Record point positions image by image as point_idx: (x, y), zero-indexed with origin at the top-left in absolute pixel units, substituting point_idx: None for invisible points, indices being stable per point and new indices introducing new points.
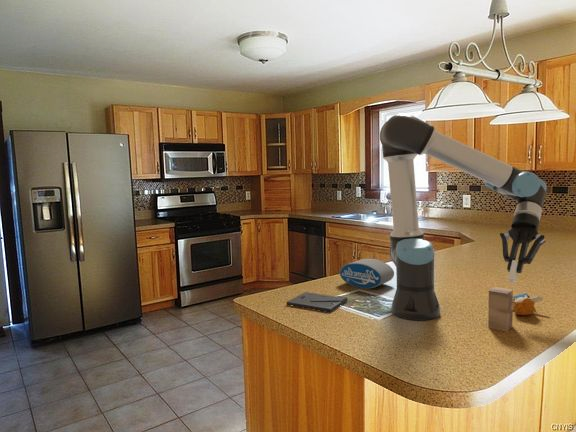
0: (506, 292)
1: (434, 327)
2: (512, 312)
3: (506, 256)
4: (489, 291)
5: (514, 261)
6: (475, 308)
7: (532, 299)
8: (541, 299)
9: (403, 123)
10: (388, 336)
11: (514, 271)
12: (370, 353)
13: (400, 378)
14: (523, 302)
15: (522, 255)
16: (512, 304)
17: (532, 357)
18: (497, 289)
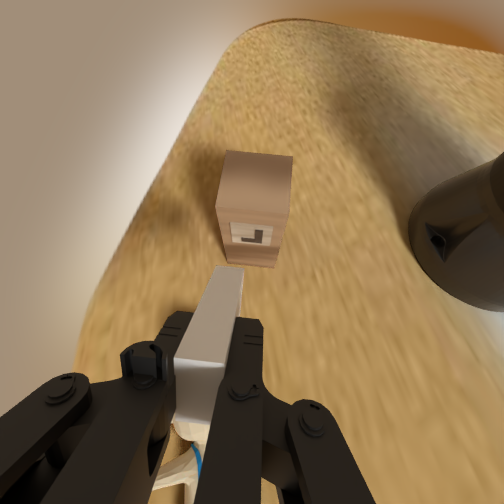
0: (232, 161)
1: (378, 175)
2: (224, 246)
3: (294, 412)
4: (289, 157)
5: (206, 350)
6: (359, 376)
7: (167, 468)
8: None
9: None
10: (421, 104)
11: (210, 289)
12: (398, 52)
13: (325, 23)
14: None
15: (100, 430)
16: (222, 234)
17: (180, 131)
18: (268, 183)
